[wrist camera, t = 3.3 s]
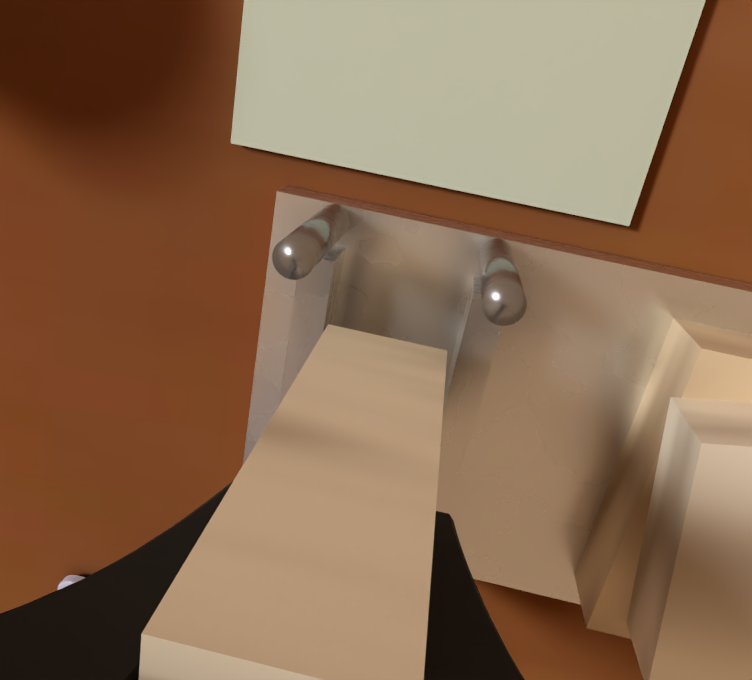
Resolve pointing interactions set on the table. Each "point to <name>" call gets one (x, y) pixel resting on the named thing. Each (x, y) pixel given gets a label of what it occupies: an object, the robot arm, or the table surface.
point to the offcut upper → (697, 548)
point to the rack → (489, 359)
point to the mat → (469, 92)
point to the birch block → (319, 531)
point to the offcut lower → (653, 462)
